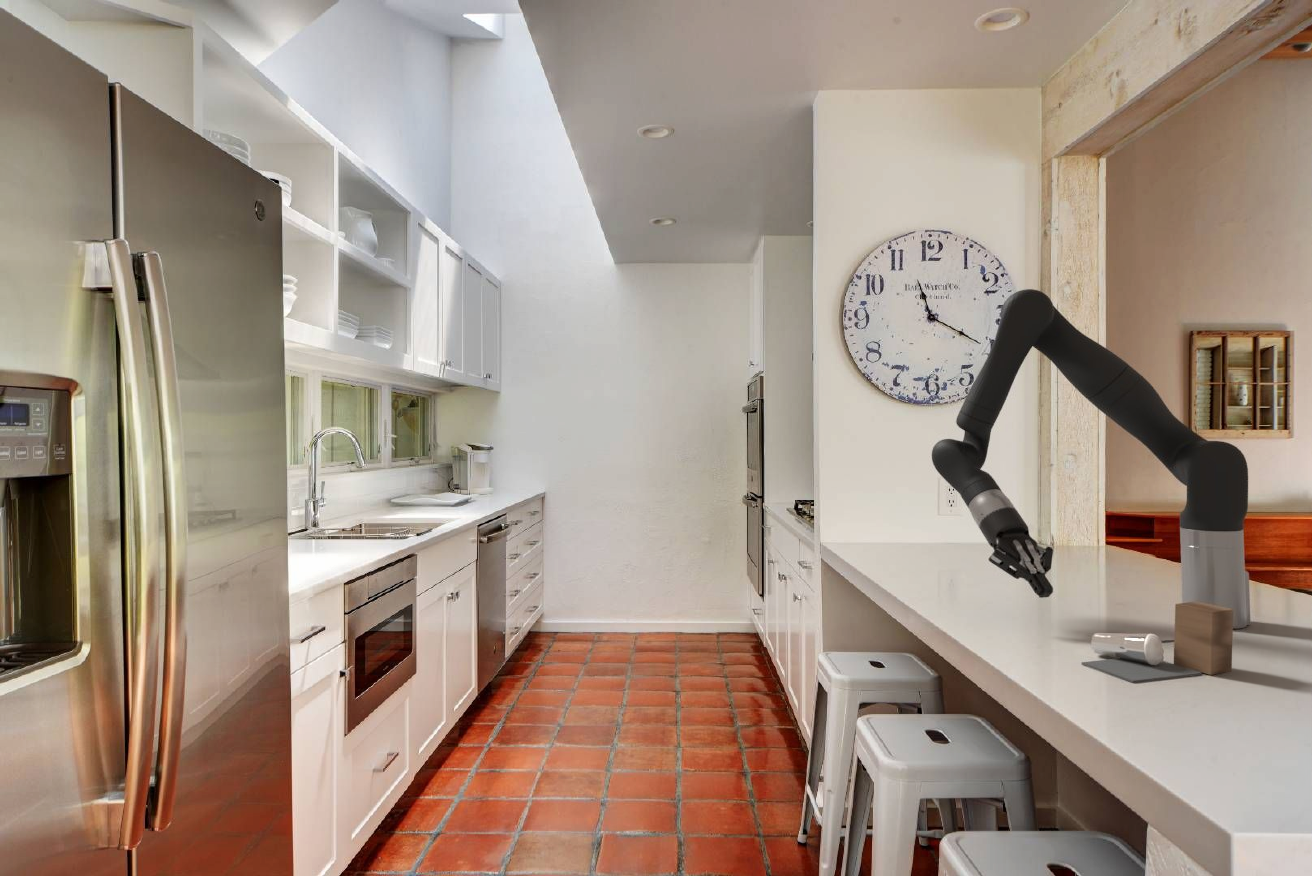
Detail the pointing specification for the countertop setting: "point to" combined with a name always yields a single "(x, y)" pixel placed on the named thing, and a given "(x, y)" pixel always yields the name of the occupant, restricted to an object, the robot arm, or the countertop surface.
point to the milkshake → (1130, 646)
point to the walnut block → (1203, 637)
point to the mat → (1140, 670)
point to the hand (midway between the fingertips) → (1047, 594)
